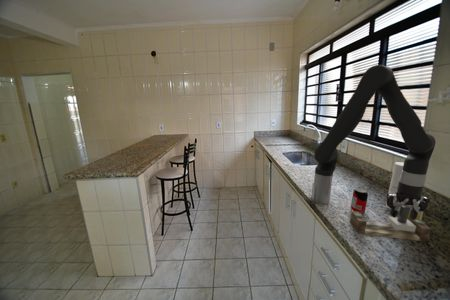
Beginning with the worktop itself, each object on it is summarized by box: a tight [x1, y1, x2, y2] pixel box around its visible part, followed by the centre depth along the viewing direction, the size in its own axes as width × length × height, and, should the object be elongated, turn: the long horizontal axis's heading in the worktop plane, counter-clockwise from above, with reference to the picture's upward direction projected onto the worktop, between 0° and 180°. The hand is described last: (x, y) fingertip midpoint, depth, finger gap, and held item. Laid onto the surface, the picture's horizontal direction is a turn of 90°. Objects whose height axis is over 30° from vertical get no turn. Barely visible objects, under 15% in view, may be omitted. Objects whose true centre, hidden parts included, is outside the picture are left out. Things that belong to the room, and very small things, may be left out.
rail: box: [349, 210, 432, 243], centre depth 84 cm, size 26×8×6 cm, turn 76°
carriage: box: [386, 205, 416, 232], centre depth 82 cm, size 7×6×10 cm
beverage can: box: [350, 187, 369, 214], centre depth 100 cm, size 6×6×12 cm
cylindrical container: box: [385, 161, 404, 212], centre depth 100 cm, size 7×7×25 cm
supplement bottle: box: [407, 200, 424, 221], centre depth 91 cm, size 6×6×10 cm
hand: (402, 217), depth 82 cm, fingers open, 6 cm apart
